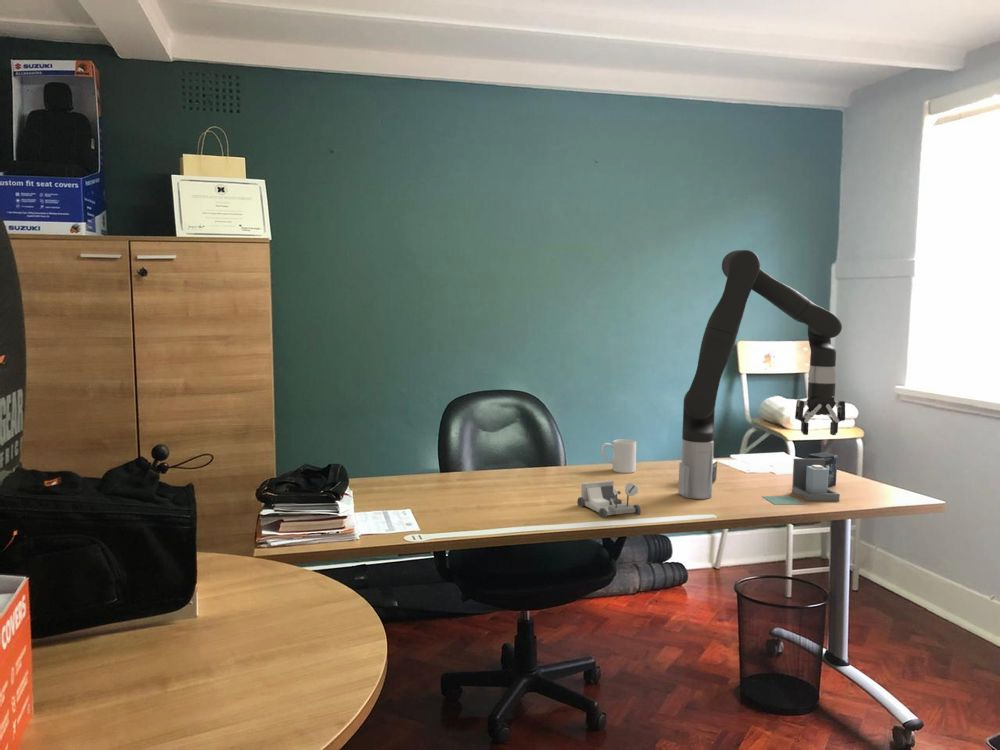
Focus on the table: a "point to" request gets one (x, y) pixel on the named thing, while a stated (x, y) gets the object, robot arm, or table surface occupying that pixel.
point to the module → (816, 479)
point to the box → (829, 461)
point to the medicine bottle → (714, 469)
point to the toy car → (607, 498)
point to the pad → (782, 500)
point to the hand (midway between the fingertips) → (819, 434)
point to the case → (800, 481)
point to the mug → (623, 455)
